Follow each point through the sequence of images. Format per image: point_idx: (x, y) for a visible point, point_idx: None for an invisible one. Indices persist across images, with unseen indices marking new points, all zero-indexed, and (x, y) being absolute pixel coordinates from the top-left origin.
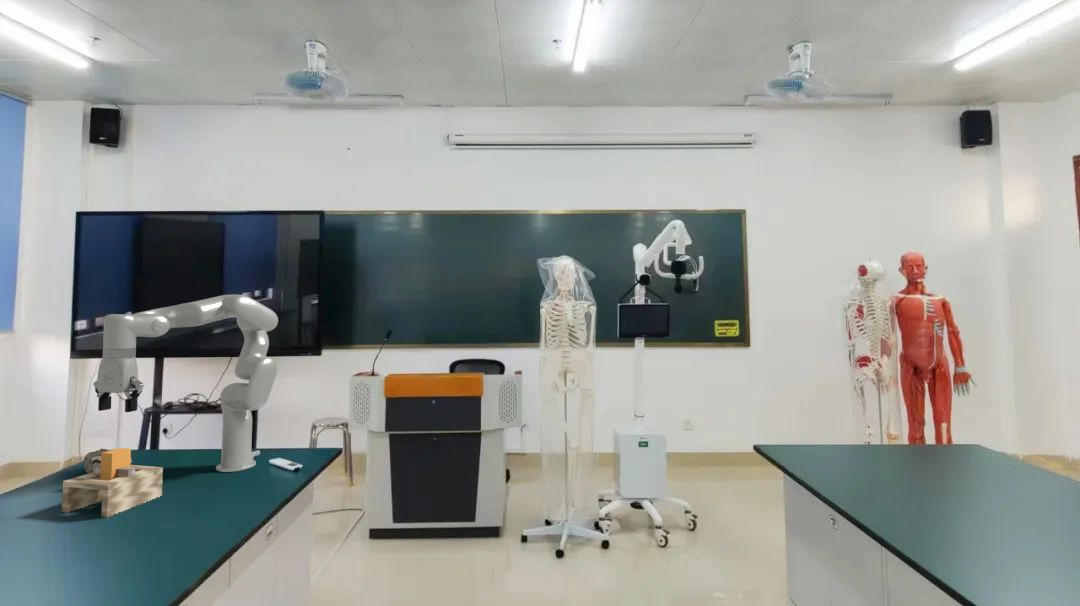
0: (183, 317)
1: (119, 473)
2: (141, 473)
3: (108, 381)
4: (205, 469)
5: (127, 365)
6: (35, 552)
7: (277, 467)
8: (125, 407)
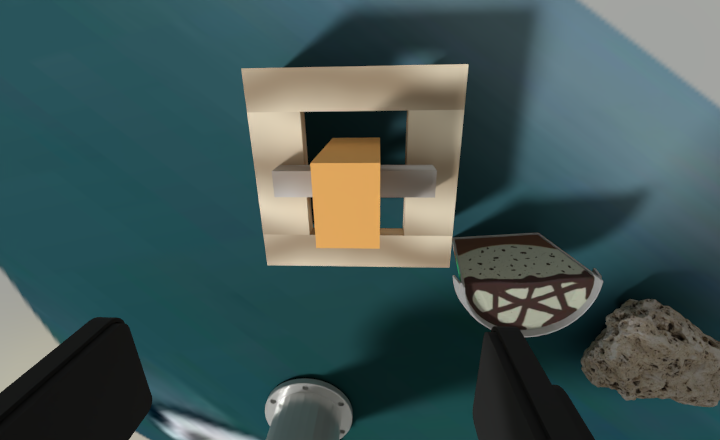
0: None
1: None
2: (269, 201)
3: None
4: (370, 387)
5: None
6: None
7: (212, 419)
8: (64, 354)
